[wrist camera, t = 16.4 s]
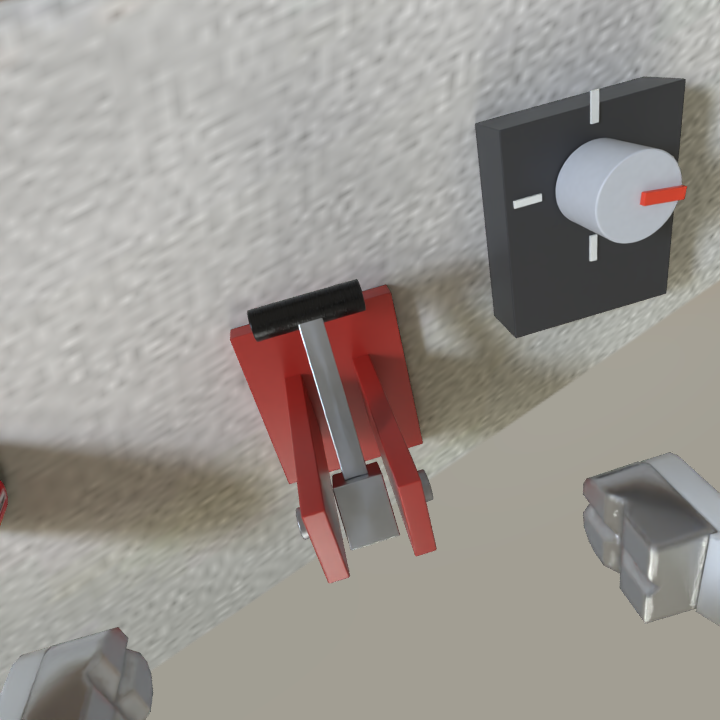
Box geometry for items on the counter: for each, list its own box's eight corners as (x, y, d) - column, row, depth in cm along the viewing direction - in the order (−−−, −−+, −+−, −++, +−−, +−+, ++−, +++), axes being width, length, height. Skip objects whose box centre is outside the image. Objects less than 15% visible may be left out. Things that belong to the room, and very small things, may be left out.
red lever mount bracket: (230, 329, 29) (222, 472, 19) (386, 284, 30) (458, 400, 20) (287, 472, 35) (305, 640, 25) (418, 432, 35) (487, 582, 25)
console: (473, 110, 26) (499, 116, 23) (644, 62, 26) (690, 63, 24) (493, 316, 32) (516, 340, 29) (633, 275, 32) (668, 294, 30)
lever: (251, 312, 24) (243, 308, 22) (355, 282, 25) (358, 275, 22) (320, 540, 25) (319, 561, 22) (421, 508, 25) (431, 525, 23)
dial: (551, 228, 26) (594, 252, 23) (558, 144, 24) (606, 157, 21) (625, 216, 27) (677, 238, 24) (638, 132, 25) (697, 143, 22)
